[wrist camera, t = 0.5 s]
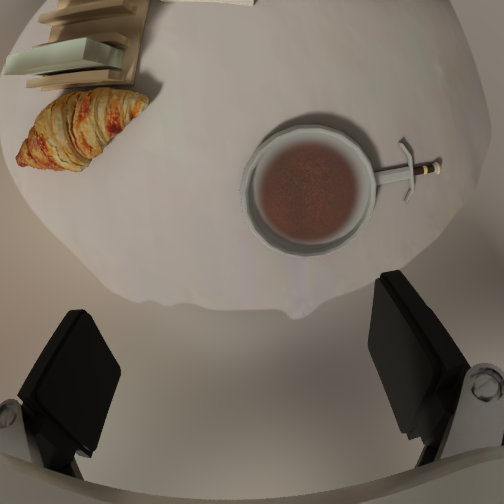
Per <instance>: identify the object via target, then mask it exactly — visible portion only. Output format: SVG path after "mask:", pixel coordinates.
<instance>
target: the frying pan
mask: <svg viewBox="0 0 504 504" xmlns="http://www.w3.org/2000/svg"><path fill="white" fill-rule="evenodd" d="M398 143H399V145H400V146H401V148H402V149H403V151H404V152H405V153H406V155H407V159H408V167H403V168H398V169H392V170H387V171H381V172H376V173H374V171H373V168H372V164H371V161H370V160H369V158H368V157H367V155H366V154H365V152H364V151H363V150H362V148H361V147H360V145H359V144H358V143H357V142H355V141H354V140H352V139H351V138H350V137H348V136H347V135H346V134H344V133H343V132H342V131H339V130H336V129H333V128H330V127H326V126H323V125H320V124H319V125H295V126H293V127H290V128H287V129H285V130H282V131H280V132H277V133H275V134H273V135H272V136H271V137H270V138H268V139H267V140H266V141H265V142H264V143H262V144H261V145H260V146H259V147H258V148H257V149H256V150H255V152H254V153H253V155H252V157H251V158H250V160H249V161H248V163H247V165H246V166H245V168H244V172H243V176H242V181H241V185H240V190H239V191H240V200H241V208H242V213H243V215H244V217H245V219H246V222H247V224H248V226H249V228H250V230H251V231H252V232H253V233H254V234H255V235H256V237H257V238H258V239H259V240H260V241H261V242H262V243H263V244H264V245H265V246H267V247H269V248H271V249H273V250H275V251H277V252H278V253H280V254H282V255H286V256H291V257H297V258H302V259H306V258H316V257H324V256H327V255H329V254H332V253H334V252H337V251H339V250H342V249H343V248H344V247H345V246H347V245H348V244H349V243H351V242H352V241H353V240H355V239H356V238H357V237H358V236H359V234H360V233H361V231H362V230H363V229H364V227H365V226H366V225H367V223H368V222H369V219H370V216H371V214H372V211H373V208H374V205H375V202H376V185H381V184H386V183H391V182H396V181H401V180H406V179H409V181H410V189H409V191H408V193H407V195H406V197H405V199H404V202H405V203H408V201H409V199H410V197H411V195H412V193H413V191H414V189H415V186H414V175H420V174H427V173H431V172H434V173H436V174H439V173H440V171H441V165H440V164H439V163H437V162H434V163H433V164H432V165H429V166H422V167H417V168H413V161H412V155H411V154H410V153H409V151H408V150H407V148H406V147H405V145H404V144H403V143H400V142H398Z"/></svg>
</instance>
